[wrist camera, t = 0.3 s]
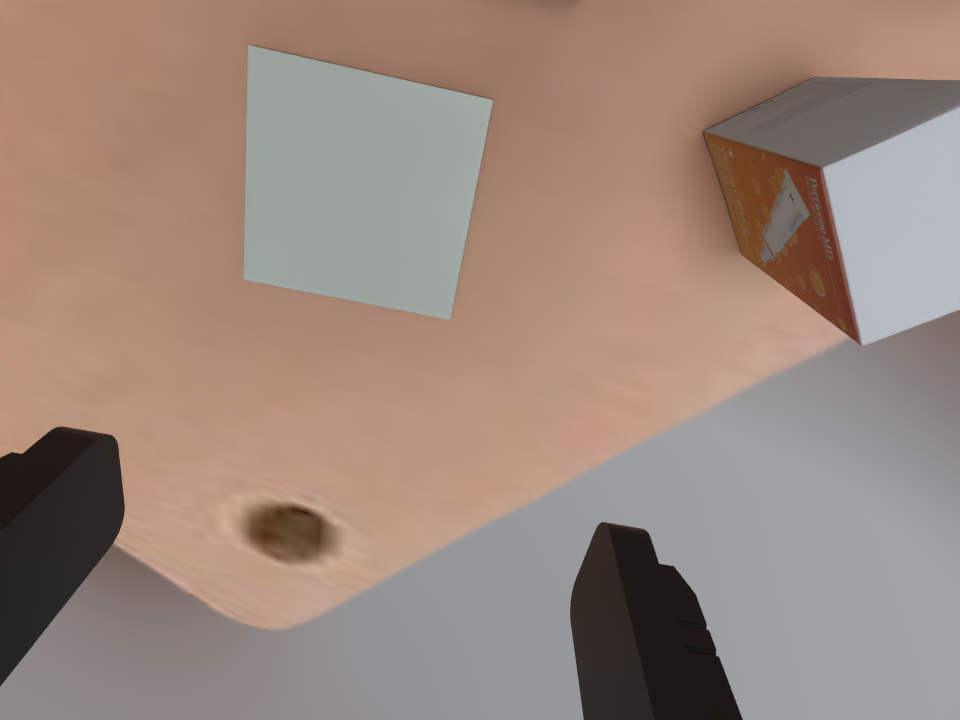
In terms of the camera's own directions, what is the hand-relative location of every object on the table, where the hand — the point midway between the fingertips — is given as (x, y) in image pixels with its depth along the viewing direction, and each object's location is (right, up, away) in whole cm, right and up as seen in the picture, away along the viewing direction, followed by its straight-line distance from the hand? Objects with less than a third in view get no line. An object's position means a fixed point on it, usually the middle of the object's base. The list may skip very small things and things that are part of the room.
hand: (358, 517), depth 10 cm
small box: (+19, +13, +23) cm, 33 cm away
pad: (-5, +12, +24) cm, 27 cm away
